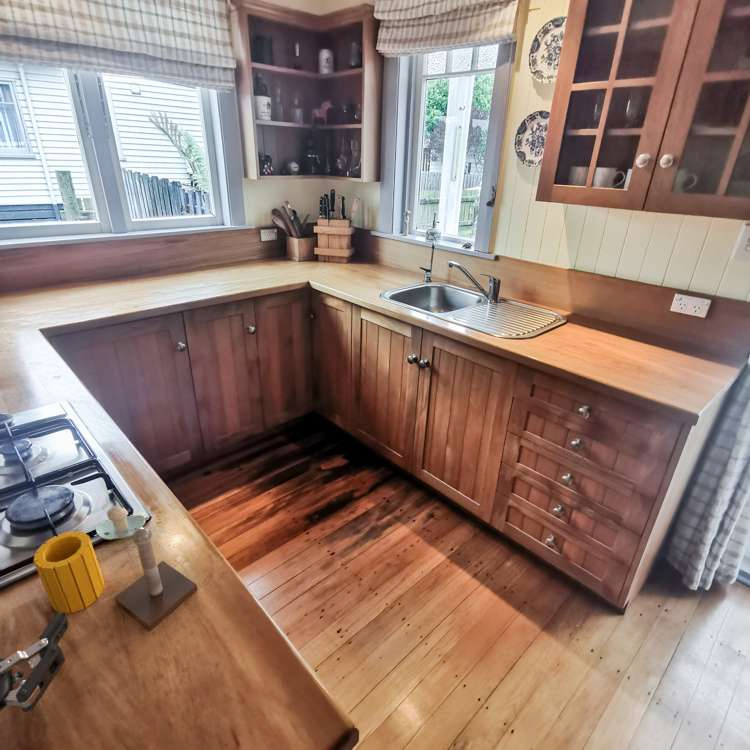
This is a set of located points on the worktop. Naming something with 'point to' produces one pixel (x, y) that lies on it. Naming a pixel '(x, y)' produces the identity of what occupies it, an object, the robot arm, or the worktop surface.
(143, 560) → the stand
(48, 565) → the yellow grooved hollow cylinder
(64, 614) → the robot arm
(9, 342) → the worktop surface
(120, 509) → the pacifier
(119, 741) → the worktop surface
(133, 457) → the worktop surface
